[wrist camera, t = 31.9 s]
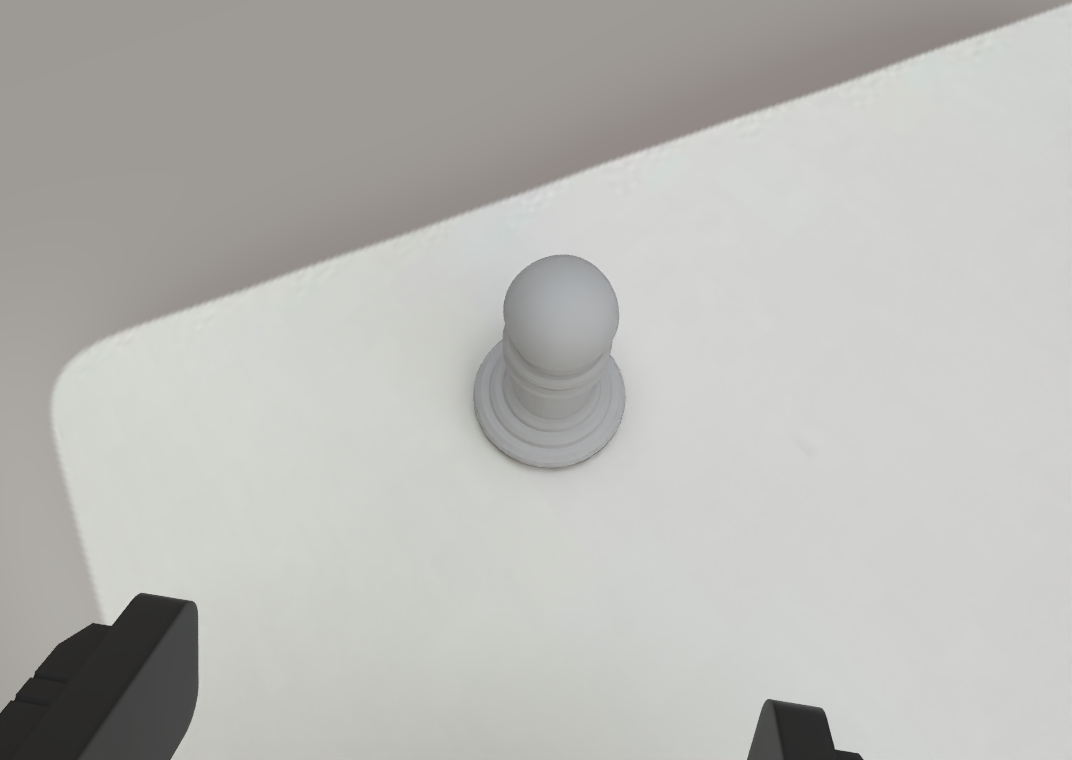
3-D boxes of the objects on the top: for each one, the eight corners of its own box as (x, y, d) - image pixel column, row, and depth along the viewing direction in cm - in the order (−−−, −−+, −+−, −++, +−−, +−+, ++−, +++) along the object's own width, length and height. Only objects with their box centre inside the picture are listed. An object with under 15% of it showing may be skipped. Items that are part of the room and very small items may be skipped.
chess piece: (651, 428, 35) (696, 320, 26) (518, 498, 34) (521, 408, 25) (577, 308, 36) (597, 170, 28) (448, 371, 35) (429, 247, 27)
